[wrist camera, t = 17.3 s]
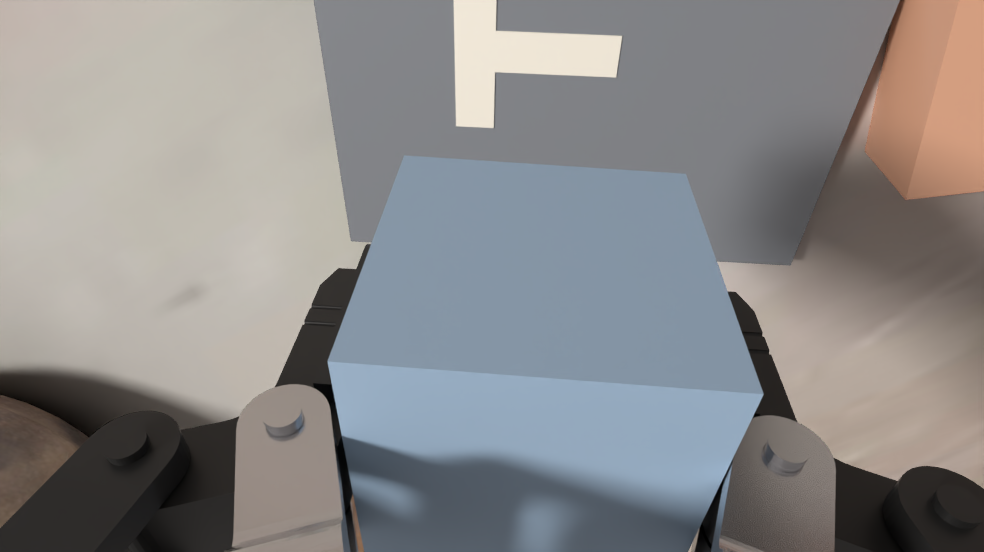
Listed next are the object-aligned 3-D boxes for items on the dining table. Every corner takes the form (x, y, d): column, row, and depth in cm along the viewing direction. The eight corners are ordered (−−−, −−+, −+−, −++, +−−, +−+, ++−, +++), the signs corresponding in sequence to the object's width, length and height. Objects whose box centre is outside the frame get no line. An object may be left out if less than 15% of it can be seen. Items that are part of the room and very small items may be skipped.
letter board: (989, -266, 17) (1011, -268, 16) (783, 252, 28) (790, 266, 28) (281, -281, 18) (269, -284, 17) (356, 228, 29) (350, 241, 28)
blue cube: (686, 173, 11) (763, 394, 7) (633, 366, 14) (668, 592, 10) (404, 155, 11) (326, 361, 7) (415, 350, 14) (366, 567, 10)
